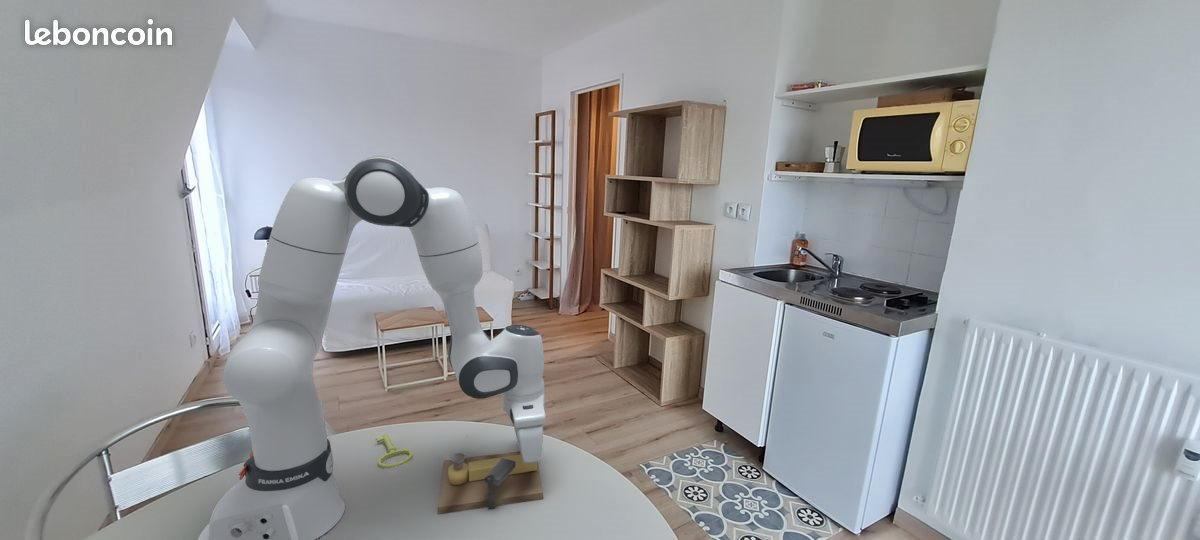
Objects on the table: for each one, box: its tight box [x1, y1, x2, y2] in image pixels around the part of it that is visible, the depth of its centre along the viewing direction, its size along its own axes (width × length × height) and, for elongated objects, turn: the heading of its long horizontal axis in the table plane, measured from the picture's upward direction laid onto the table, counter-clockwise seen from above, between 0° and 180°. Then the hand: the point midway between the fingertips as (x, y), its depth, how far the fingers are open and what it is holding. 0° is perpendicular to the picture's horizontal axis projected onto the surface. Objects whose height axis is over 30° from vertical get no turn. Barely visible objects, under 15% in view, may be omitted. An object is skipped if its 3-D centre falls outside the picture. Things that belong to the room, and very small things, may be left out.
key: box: [375, 433, 414, 469], centre depth 108 cm, size 7×12×2 cm, turn 55°
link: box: [448, 454, 537, 485], centre depth 99 cm, size 18×4×2 cm, turn 107°
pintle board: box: [437, 450, 544, 515], centre depth 98 cm, size 20×16×7 cm
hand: (525, 456), depth 104 cm, fingers closed
